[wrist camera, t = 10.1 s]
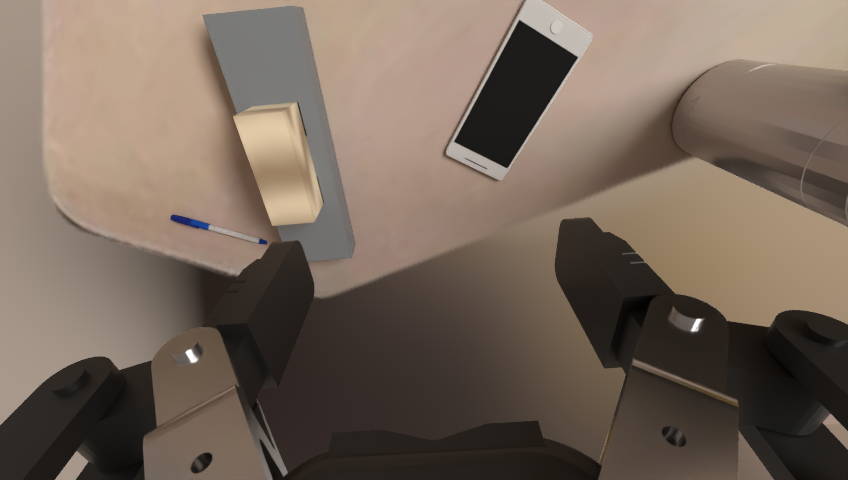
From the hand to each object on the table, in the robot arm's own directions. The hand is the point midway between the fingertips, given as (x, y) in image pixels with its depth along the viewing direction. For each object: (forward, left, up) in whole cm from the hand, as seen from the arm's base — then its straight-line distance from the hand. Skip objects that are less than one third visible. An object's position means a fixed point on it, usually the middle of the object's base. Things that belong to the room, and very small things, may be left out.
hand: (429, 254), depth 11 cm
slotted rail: (+13, +4, -27) cm, 30 cm away
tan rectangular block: (+13, +4, -27) cm, 30 cm away
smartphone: (-9, +1, -28) cm, 29 cm away
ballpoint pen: (+24, +12, -28) cm, 39 cm away
